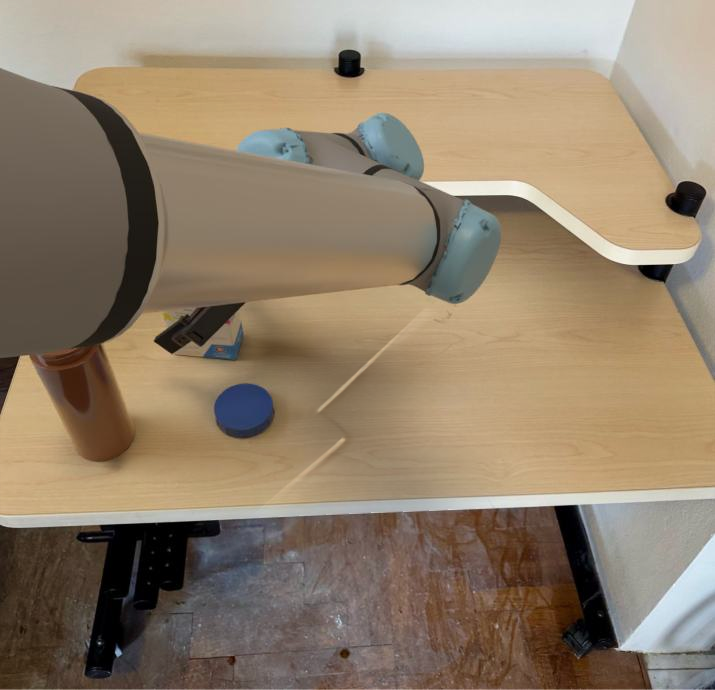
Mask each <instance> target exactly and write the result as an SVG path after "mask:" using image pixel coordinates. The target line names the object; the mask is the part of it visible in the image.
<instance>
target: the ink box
mask: <svg viewBox="0 0 715 690" xmlns="http://www.w3.org/2000/svg"><path fill="white" fill-rule="evenodd" d="M195 309H196V308H190V309H181V310H172V311H163V312H161V313H162V316H163V320H164V323H165V328H166V329H167V328H169V327H170V326H171V325H173V324H174V323H175V322H177V321H178V320H179V318H180V317H181V315H182V316H185V315H187V314H188V315H189V316H190V315H191V314H192V313H193V312H194V311H195ZM243 338H244V330H243V324H242V317H241V309H239V310H238V311H237V312H236V313H235V314H234V315H233V316H232V317H231V318H230V319H229V320H228V321H227V322H226V323H225V324H224V325H223V326H222V327H221V328H220V329H219V330H218V331H217V332H216V333H215V334H214V335H213V336H212V337H211V338H210V339H209V340H208V341H207V342H206V343H205V344H204V345H203V346H202V347H199V346H198V345H197V344H195V343H194V342H193V341H191V342H190V343H188V344H187V345H185V346H184V347H182V348H181V349H179V350H178V351H176V352H175V353H173V354H174V355H179V356H188V357H199V358H210V359H219V360H220V359H221V360H231V361H236V360H237V358H238V354H239V351H240V347H241V343H242V340H243Z"/></svg>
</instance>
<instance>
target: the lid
mask: <svg viewBox="0 0 715 690" xmlns="http://www.w3.org/2000/svg"><path fill="white" fill-rule="evenodd" d="M213 413H214V418H215V422H216V426H217V427H218V428H219V429H220V430H221V431H222V432H223V433H224V434H226V435H228V436H230V437H232V438H236V439H237V438H238V439H245V438H246V439H247V438H251V437H255V436H258V435H259V434H261V433H263V432H265V430H266V429H267V428H268V427H269V426H270V425H271V423H272V421H273V418H274V414H275V408H274V402H273V399H272V395H271V394H270V393H269V392H268V390H266V389H265V388H264V387H262V386H260V385H258V384H255V383H249V382H248V383H247V382H244V383H238V384H233V385H231V386H229V387H227V388H226V389H224V390H223V391H222V392H221V393H219V394H218V396H217V398H216V399H215V402H214V405H213Z"/></svg>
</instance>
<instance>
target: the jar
mask: <svg viewBox="0 0 715 690" xmlns="http://www.w3.org/2000/svg"><path fill="white" fill-rule="evenodd" d="M28 357H29V359H30V361H31V363H32V365H33V367H34V369H35V371H36V373H37V375H38V377H39V379H40V381H41V383H42V385H43V387H44V389H45V391H46V393H47V395H48V397H49V399H50V402H51V403H52V405H53V407H54V409H55V411H56V414H57V415H58V417H59V419H60V421H61V423H62V425H63V427H64V429H65V431H66V434H67V435H68V437H69V439H70V441H71V443H72V445H73V447H74V449H75V450H76V452H77V454H78V455H79V456H80V458H81V457H82V458H83V459H85V460H88V461H90V462H91V461H92V462H105V461H109V460H112V459H115V458H117V457H119V456H120V455H122V454H124V452H126V451H127V449H129V447H130V446H131V445H132V443H133V441H134V438H135V434H136V433H135V432H136V431H135V430H136V428H135V426H134V423H133V421H132V417H131V415H130V411H129V410H128V407H127V404H126V401H125V398H124V396H123V393H122V391H121V387H120V385H119V383H118V379H117V377H116V374H115V372H114V368H113V367H112V364H111V360H110V358H109V355H108V353H107V350H106V347H105V344H104V343H103V344H99V345H93V346H86V347H79V348H72V349H66V350H61V351H55V352H49V353H43V354H35V355H28Z"/></svg>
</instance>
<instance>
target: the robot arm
mask: <svg viewBox="0 0 715 690" xmlns="http://www.w3.org/2000/svg"><path fill="white" fill-rule="evenodd" d="M424 160H425V159H424V156H423V153H422V150H421V148H420V146H419V144H418V142H417V140H416V138H415V136H414V135H413V133H412V132H411V131H410V129H409V128H408V127H407V126H406V125H405V124H404V123H403V122H402V121H401V120H400V119H399V118H398V117H395V116H394V115H392V114H390V113H387V112H378V113H376V114H373V115H371V117H370V118H368V119H366V120H365V121H364V122H362V121H361V122H359V123H358V124H357V127H356V128H355V129H353V130H352V131H351V132H347V133H344V132H319V131H307V130H296V129H292V128H290V127H280V128H277V129H274V128H273V129H261V130H257V131H254V132H252V133H250V134H248V135H247V136H246V137H244V138H243V139H242V140H241V141H240V143H238V146H237V147H236V149H230V148H225V147H219V146H214V145H209V144H204V143H199V142H192V141H187V140H182V139H177V138H171V137H167V136H160V135H155V134H149V133H144V132H140V131H138V130H137V128H136V127H135V126H134V125H133V123H131V121H130V119H128V117H127V116H126V115H125V114H123V113H122V112H121V111H120V110H119V109H118V108H117V107H116V106H114V105H112V104H111V103H109V102H108V101H106V100H105V99H103V98H100V97H97V96H94V95H92V94H89V93H86V92H81V91H77V90H73V89H68V88H63V87H59V86H54V85H50V84H47V83H43V82H41V81H37V80H34V79H31V78H29V77H26V76H24V75H20V74H17V73H14V72H12V71H10V70H6V69H4V68H2V67H0V359H5V358H13V357H25V356H29V355H35V354H43V353H49V352H55V351H61V350H66V349H72V348H79V347H86V346H93V345H99V344H103V345H104V344H105V343H109V342H111V341H113V340H115V339H117V338H119V337H120V336H122V335H123V334H125V333H126V332H127V331H129V329H130V328H132V327H133V325H134V324H135V323H136V322H137V320H138V319H139V318H140V317H141V315H143V314H144V315H145V314H153V313H162V312H163V311H172V310H181V309H190V308H196V309H195V311H194V312H193V313H192V314H191V315H190V316H189V315H188V314H187V315H185V316H182V315H181V317H180V318H179V320H178V321H177V322H175V323H174V324H173V325H171V326H170V327H169V328H166V329H164V330H163V331H161V332H160V333H159V334H158V335H156V336H155V337H154V339H153V343H155V344H156V345H158V346H159V347H161V348H162V349H163V350H165V351H166V352H168V353H169V354H171V355H173V354H174V353H175V352H176V351H178V350H179V349H181V348H182V347H184V346H185V345H187V344H188V343H190V342H191V341H193V342H194V343H195V344H197V345H198V346H199V347H202V346H203V345H204V344H205V343H206V342H207V341H208V340H209V339H210V338H211V337H212V336H213V335H214V334H215V333H216V332H217V331H218V330H219V329H220V328H221V327H222V326H223V325H224V324H225V323H226V322H227V321H228V320H229V319H230V318H231V317H232V316H233V315H234V314H235V313H236V312H237V311H238V310H241V309H242V307H243V306H244V305H245V304H246V303H252V302H260V301H268V300H270V301H271V300H277V299H279V300H280V299H286V298H287V299H288V298H294V297H295V298H296V297H304V296H314V295H320V294H321V295H322V294H330V293H339V292H348V291H357V290H366V289H375V288H385V287H395V286H407V285H409V286H412V287H415V288H417V289H419V290H421V291H423V292H424V295H426V296H428V297H434V298H437V299H438V300H441V301H444V302H446V303H448V304H453V305H458V304H462V303H464V302H466V301H468V300H469V299H470V298H471V297H472V296H473V295H474V294H475V293H476V292H477V291H478V290H479V289H480V288H481V286H482V285H483V283H484V282H485V280H486V279H487V277H488V275H489V273H490V272H491V270H492V267H493V265H494V263H495V260H496V258H497V255H498V252H499V249H500V246H501V241H502V227H501V224H500V221H499V219H498V218H497V216H495V215H494V214H493V213H490V212H489V211H487V210H484V209H483V208H481V207H479V206H476V205H474V204H473V203H471V201H470V200H469V199H466V198H464V199H462V198H460V197H457V196H456V195H452V194H450V193H448V192H445V191H443V190H441V189H438V188H436V187H434V186H432V185H430V184H428V183H425V182H423V181H421V179H422V178H423V175H424V170H425V161H424Z"/></svg>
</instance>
